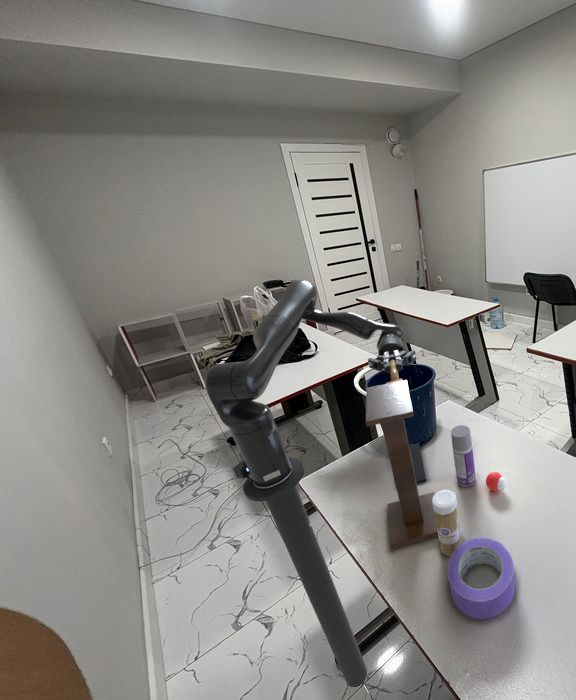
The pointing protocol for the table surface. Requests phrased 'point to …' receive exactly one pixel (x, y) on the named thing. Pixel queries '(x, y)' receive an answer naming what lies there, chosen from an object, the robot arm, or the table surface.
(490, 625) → the table surface
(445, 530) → the sprinkles bottle
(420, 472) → the drying mat
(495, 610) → the tape roll
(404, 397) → the wooden pedestal stand
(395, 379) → the copper block with handle
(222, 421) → the robot arm
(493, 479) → the molecule
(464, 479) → the container
